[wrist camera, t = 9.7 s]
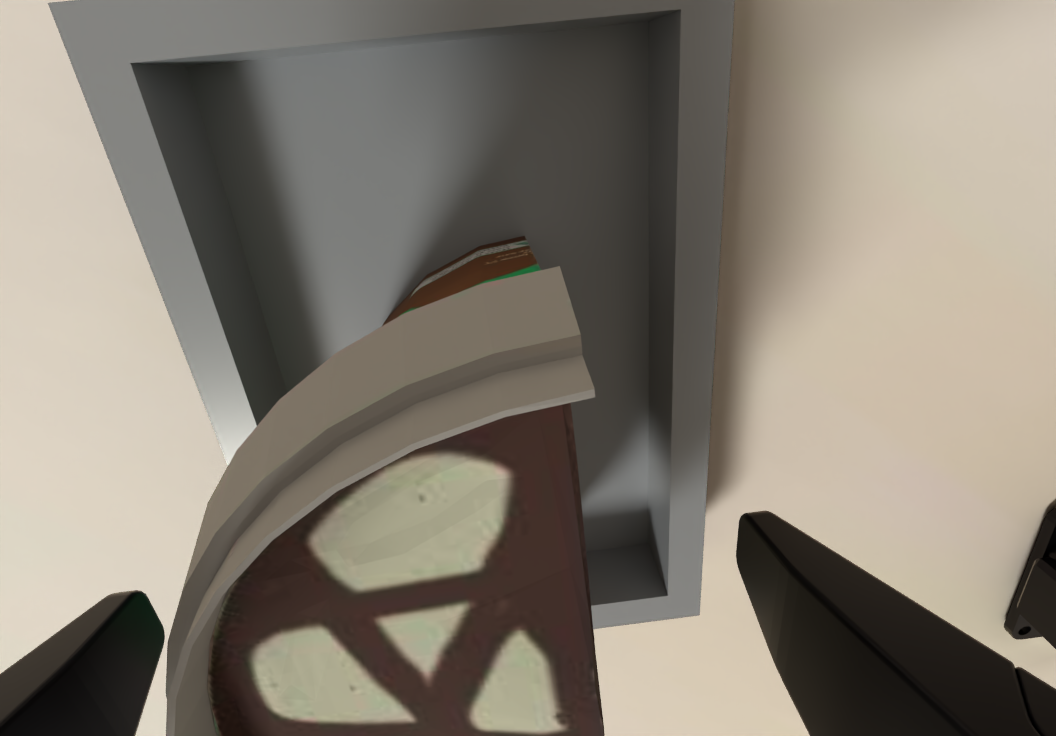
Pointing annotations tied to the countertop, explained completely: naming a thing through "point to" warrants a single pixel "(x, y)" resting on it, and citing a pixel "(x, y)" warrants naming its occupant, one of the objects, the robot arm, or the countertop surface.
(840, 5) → the countertop surface
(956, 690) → the robot arm
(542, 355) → the food container
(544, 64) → the tray
